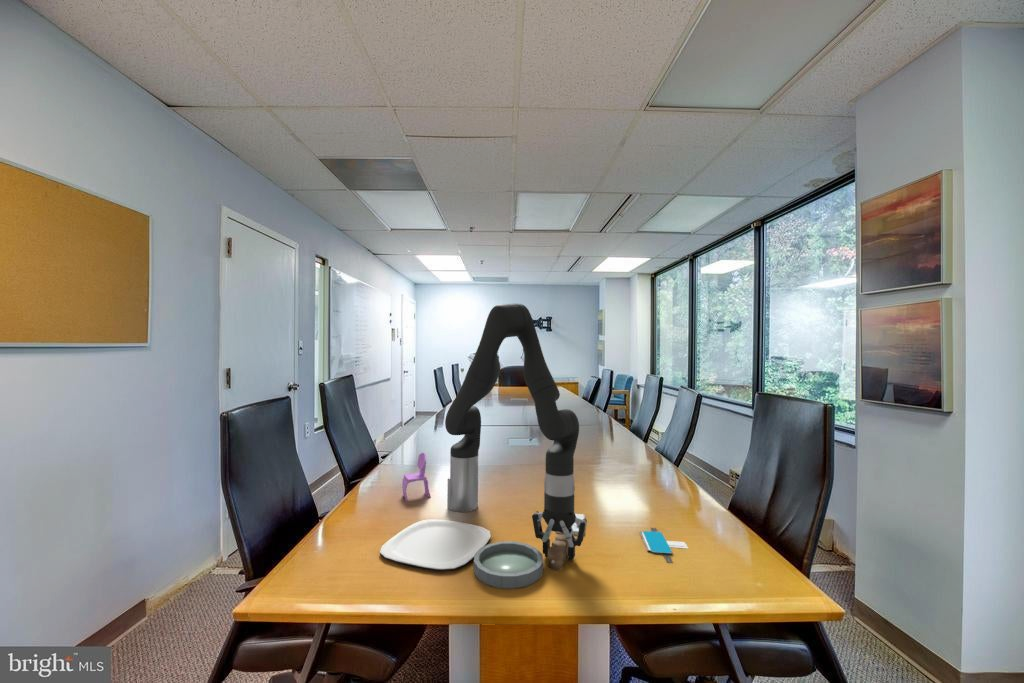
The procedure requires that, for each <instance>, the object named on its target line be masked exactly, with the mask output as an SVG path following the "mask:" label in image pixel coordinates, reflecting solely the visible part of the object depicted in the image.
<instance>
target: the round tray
mask: <svg viewBox="0 0 1024 683" xmlns="http://www.w3.org/2000/svg"><path fill="white" fill-rule="evenodd" d="M543 557H544V556H543V552H541V551H540V550H539V549H538V548H537V547H534V546H533V545H530V544H528V543H525V542H519V541H514V540H513V541H509V540H508V541H507V540H505V541H504V540H501V541H498V542H497V541H496V542H491V543H488V544H486V545H485V546H484V547H482V548H480V549H479V550H478V551H477V552H476V553H475V555H474V558H473V572H474V575H475V577H476V578H477V579H478V580H479V581H480V582H481V583H482V584H485V585H486V586H489V587H492V588H496V589H501V590H515V589H521V588H527V587H529V586H532V585H533V584H535V583H537V582H538V581H539V580H540V578H541V577H542V575H543V573H544V572H543V571H544V558H543Z"/></svg>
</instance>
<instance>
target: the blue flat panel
mask: <svg viewBox="0 0 1024 683" xmlns="http://www.w3.org/2000/svg"><path fill="white" fill-rule="evenodd" d="M650 530H651V531H650ZM650 530H643V531H641V530H640V532H639V535H640V538H641V539H642V543H643V545H644V548H645V550H646V552H647V553H648V552H649V551H650V552H652V553H653V554H656V553H657V555H659V556H663V558H664V559H665V562H666V563H669V564H674V562H673V559H672V557H671V555H670V554H672V553H673V552H672V549H671V548H673V549H684V550H685V549H686V550H688V549H689V547H688V545H687V544H686V542H685V541H676V540H675V541H674V540H673V541H672V540H666V537H665V536H664V534H663V533H662V532H661V531H658V530H657V528H656V527H650Z"/></svg>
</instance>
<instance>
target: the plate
mask: <svg viewBox="0 0 1024 683" xmlns="http://www.w3.org/2000/svg"><path fill="white" fill-rule="evenodd" d="M491 537H492V536H491V531H490V530H488V529H486V528H485V527H483V526H479V525H475V524H472V523H465V522H461V521H456V520H455V521H453V520H448V519H437V518H431V519H430V518H429V519H423V520H420V521H416V522H414V523H413V524H410V525H409V526H407V527H405V528H403V529H402V530H401V531H400V532H399V531H398V533H396V534H395V535H394V536H392V537H391V538H390V539H388V540H387V541H386V542H385V543H384V544H383V545H382V546H381V547H380V551H379V554H380V555H381V556H383V558H385V559H386V560H387V559H388V560H390V561H393V562H396V563H400V564H404V565H408V566H413V567H417V568H423V569H427V570H429V569H430V570H435V571H448V570H455V569H458V568H460V567H463V566H465V565H466V564H469V562H470V561H472V560H474V555H475V553H476V552H477V551H478V550H479V549H480V548H482V547H484V546H486V545H488V544H487V543H488V542H489V541H490V539H491Z"/></svg>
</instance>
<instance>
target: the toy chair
mask: <svg viewBox="0 0 1024 683" xmlns="http://www.w3.org/2000/svg"><path fill="white" fill-rule="evenodd" d="M416 466H417V468H418V469H419V472H415V473H407V474H405V473H404V474H403V478H402V486H401V488H402V495H403V497H404V499H405V501H406V502H409V499H408V496H407V487H408V484H410V483H414V482H418V481H420V482H421V481H423V485H424V491H425V494H426V495H427V496H428V497H429V498H432V496H431V493H430V489H429V481H428V478H427V476H426V475H425V473H426V468H427V467H426V466H427V453H426V452H421V453H419V455H418V458H417V464H416Z"/></svg>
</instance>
